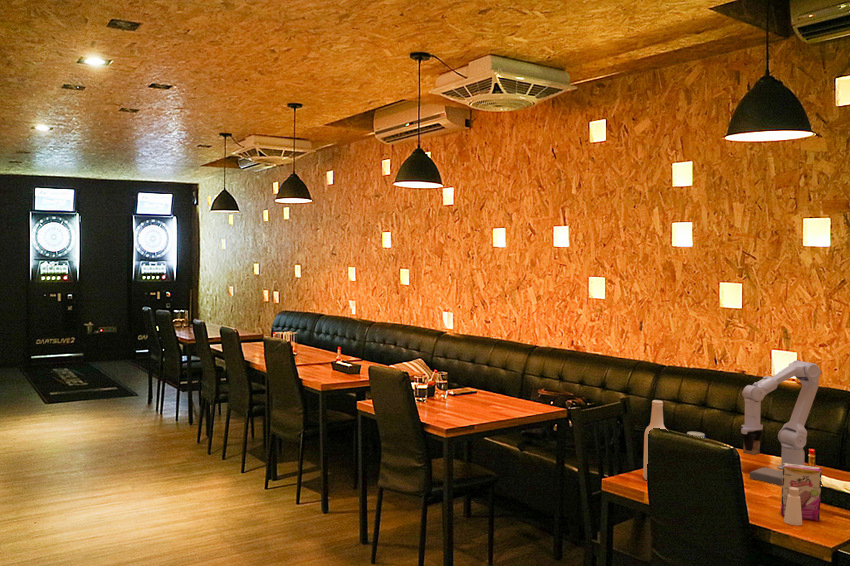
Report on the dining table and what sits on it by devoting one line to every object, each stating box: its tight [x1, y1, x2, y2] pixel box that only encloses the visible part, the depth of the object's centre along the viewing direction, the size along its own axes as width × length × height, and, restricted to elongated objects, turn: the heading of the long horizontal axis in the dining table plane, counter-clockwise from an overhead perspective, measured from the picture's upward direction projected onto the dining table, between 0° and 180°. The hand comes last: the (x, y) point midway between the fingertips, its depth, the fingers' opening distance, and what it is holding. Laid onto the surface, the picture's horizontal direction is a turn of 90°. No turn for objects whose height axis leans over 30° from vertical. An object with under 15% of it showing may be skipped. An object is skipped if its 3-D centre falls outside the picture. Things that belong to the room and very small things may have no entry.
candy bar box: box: [780, 463, 822, 522], centre depth 227 cm, size 11×5×16 cm, turn 65°
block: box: [742, 440, 761, 456], centre depth 281 cm, size 4×4×5 cm
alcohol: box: [642, 399, 668, 481], centre depth 264 cm, size 9×9×30 cm
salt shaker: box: [783, 487, 803, 526], centre depth 221 cm, size 5×5×11 cm
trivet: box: [749, 466, 782, 487], centre depth 268 cm, size 12×12×3 cm
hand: (751, 449), depth 281 cm, fingers closed on block, 4 cm apart
